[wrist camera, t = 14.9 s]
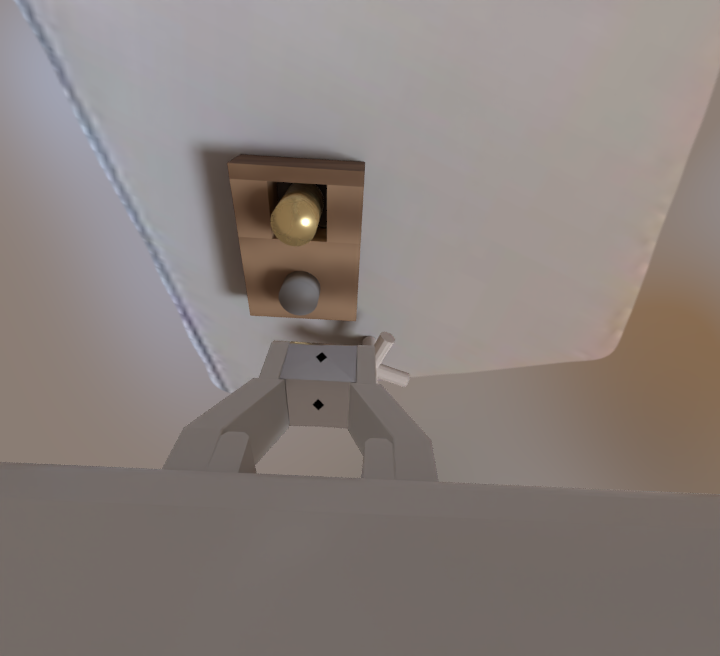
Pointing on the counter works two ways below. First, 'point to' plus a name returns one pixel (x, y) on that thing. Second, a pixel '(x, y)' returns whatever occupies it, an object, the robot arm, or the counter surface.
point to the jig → (307, 262)
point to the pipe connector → (380, 352)
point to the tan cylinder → (298, 214)
